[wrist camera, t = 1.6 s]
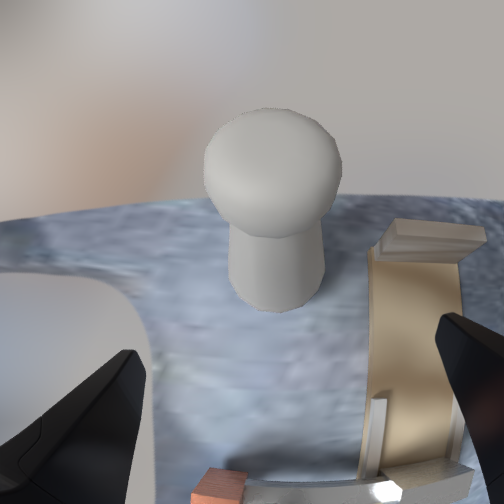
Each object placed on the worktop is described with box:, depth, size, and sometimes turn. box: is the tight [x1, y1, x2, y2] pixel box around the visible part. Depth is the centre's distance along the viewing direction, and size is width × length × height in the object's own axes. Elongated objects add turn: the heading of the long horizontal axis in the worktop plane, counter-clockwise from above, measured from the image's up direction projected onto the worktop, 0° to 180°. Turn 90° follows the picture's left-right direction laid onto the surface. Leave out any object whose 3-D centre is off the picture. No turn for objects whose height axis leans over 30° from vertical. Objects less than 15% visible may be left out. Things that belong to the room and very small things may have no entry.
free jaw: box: [191, 456, 475, 504], centre depth 12 cm, size 2×16×4 cm, turn 86°
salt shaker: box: [204, 108, 342, 313], centre depth 14 cm, size 6×6×13 cm
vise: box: [356, 218, 487, 504], centre depth 14 cm, size 20×7×5 cm, turn 176°
